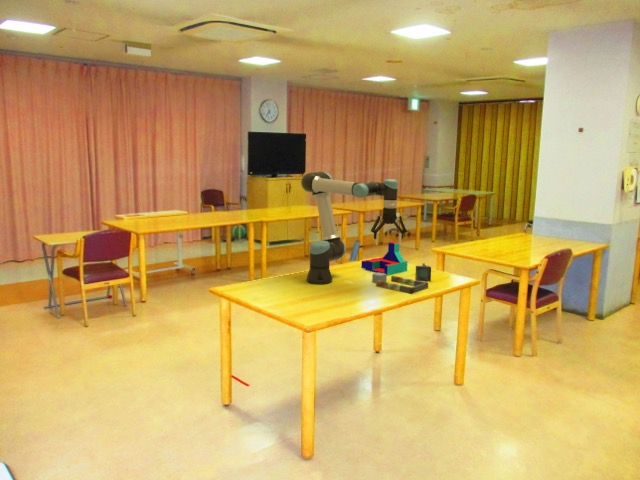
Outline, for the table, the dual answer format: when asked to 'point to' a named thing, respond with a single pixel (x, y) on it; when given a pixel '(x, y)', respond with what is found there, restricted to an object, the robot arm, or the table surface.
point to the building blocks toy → (387, 262)
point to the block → (379, 277)
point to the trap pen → (417, 287)
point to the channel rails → (395, 286)
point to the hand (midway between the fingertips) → (388, 244)
